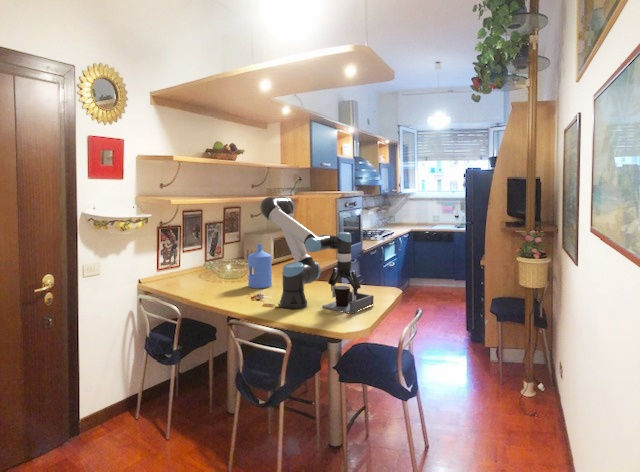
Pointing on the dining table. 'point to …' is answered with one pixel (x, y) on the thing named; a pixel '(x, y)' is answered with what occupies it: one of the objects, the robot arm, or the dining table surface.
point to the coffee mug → (342, 295)
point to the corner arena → (352, 303)
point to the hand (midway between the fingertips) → (343, 299)
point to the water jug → (260, 269)
